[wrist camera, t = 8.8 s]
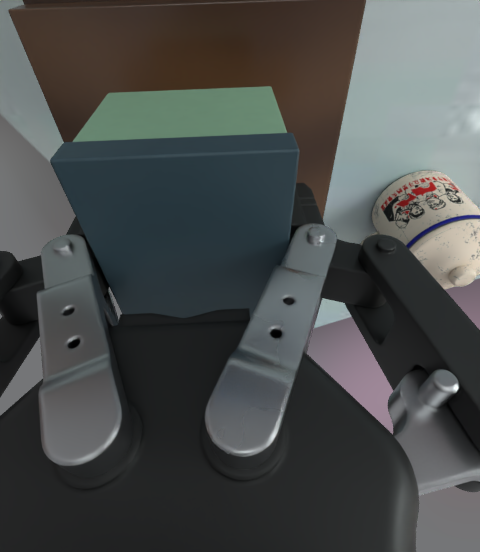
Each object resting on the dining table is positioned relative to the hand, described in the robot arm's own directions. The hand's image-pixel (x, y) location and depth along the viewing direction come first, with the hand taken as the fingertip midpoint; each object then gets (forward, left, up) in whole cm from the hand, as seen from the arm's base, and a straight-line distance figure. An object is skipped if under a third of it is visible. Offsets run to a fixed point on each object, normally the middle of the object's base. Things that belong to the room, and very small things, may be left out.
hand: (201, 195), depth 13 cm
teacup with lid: (+14, +20, -19) cm, 31 cm away
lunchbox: (0, 0, -1) cm, 1 cm away
